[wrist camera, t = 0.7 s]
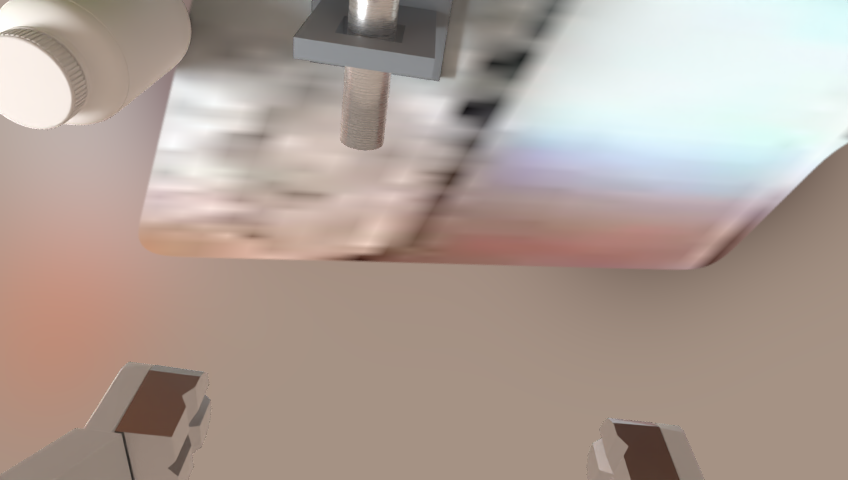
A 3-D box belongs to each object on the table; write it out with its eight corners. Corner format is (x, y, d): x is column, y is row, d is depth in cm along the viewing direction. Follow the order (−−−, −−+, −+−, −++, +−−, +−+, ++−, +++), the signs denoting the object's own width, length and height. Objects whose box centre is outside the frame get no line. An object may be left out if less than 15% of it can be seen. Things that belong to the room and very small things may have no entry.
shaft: (364, -180, 31) (358, -182, 29) (419, -170, 31) (417, -171, 29) (343, 128, 41) (337, 146, 39) (385, 134, 42) (381, 152, 39)
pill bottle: (174, -46, 41) (59, 4, 29) (207, 65, 46) (120, 150, 33) (67, -36, 42) (-90, 16, 29) (111, 73, 46) (-10, 158, 34)
